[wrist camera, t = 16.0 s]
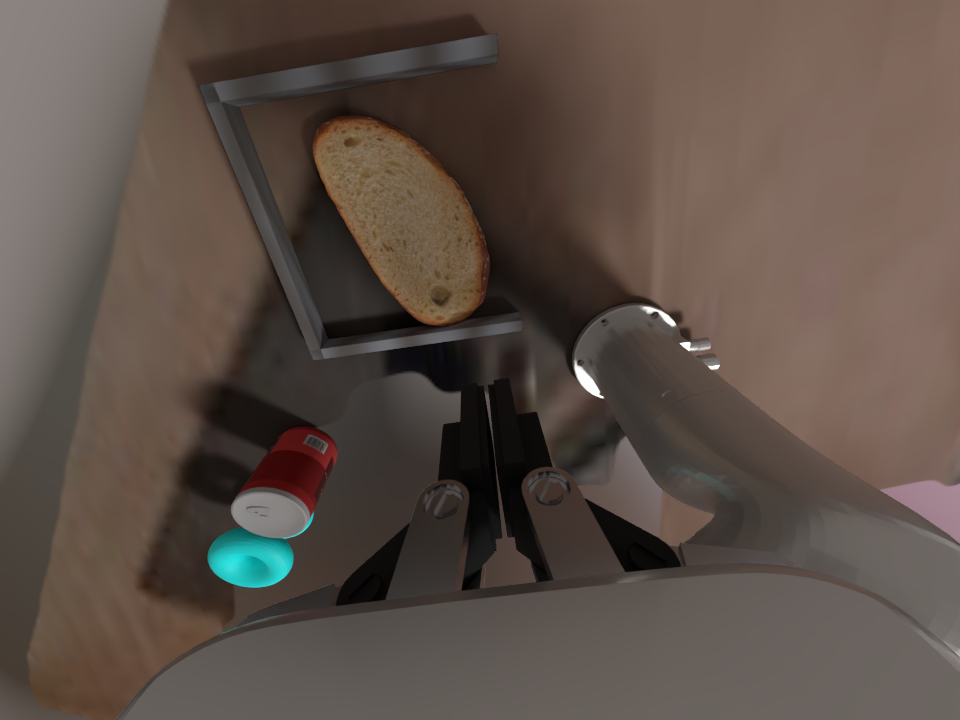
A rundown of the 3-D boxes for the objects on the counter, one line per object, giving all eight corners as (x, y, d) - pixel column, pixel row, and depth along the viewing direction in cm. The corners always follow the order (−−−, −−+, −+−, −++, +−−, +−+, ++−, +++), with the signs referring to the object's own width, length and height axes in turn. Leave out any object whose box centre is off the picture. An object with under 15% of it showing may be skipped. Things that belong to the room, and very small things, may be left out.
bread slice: (312, 103, 30) (294, 95, 27) (515, 152, 32) (520, 150, 29) (316, 300, 38) (302, 312, 35) (477, 328, 41) (478, 342, 37)
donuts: (209, 589, 46) (195, 541, 41) (250, 521, 54) (242, 475, 50) (289, 594, 47) (284, 548, 42) (317, 527, 56) (315, 483, 51)
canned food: (271, 424, 46) (219, 492, 36) (333, 423, 46) (298, 491, 36) (286, 467, 49) (242, 540, 40) (344, 466, 50) (314, 538, 40)
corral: (494, 43, 28) (496, 33, 26) (520, 321, 40) (523, 330, 38) (218, 91, 29) (198, 85, 27) (322, 350, 41) (313, 360, 39)
